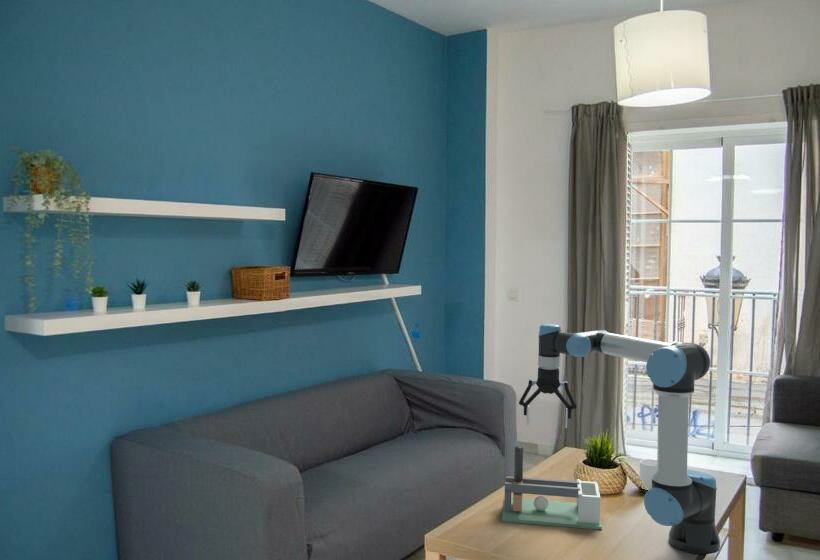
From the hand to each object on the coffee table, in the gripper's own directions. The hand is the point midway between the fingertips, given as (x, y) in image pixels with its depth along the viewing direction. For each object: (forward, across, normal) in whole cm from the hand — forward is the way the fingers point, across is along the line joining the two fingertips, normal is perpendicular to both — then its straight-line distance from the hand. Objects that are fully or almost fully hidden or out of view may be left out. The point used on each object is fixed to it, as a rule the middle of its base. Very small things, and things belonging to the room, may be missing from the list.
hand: (546, 425), depth 255 cm
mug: (+29, -41, -28) cm, 58 cm away
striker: (+27, +9, +9) cm, 30 cm away
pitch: (+29, -2, +8) cm, 30 cm away
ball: (+26, +1, +8) cm, 27 cm away
